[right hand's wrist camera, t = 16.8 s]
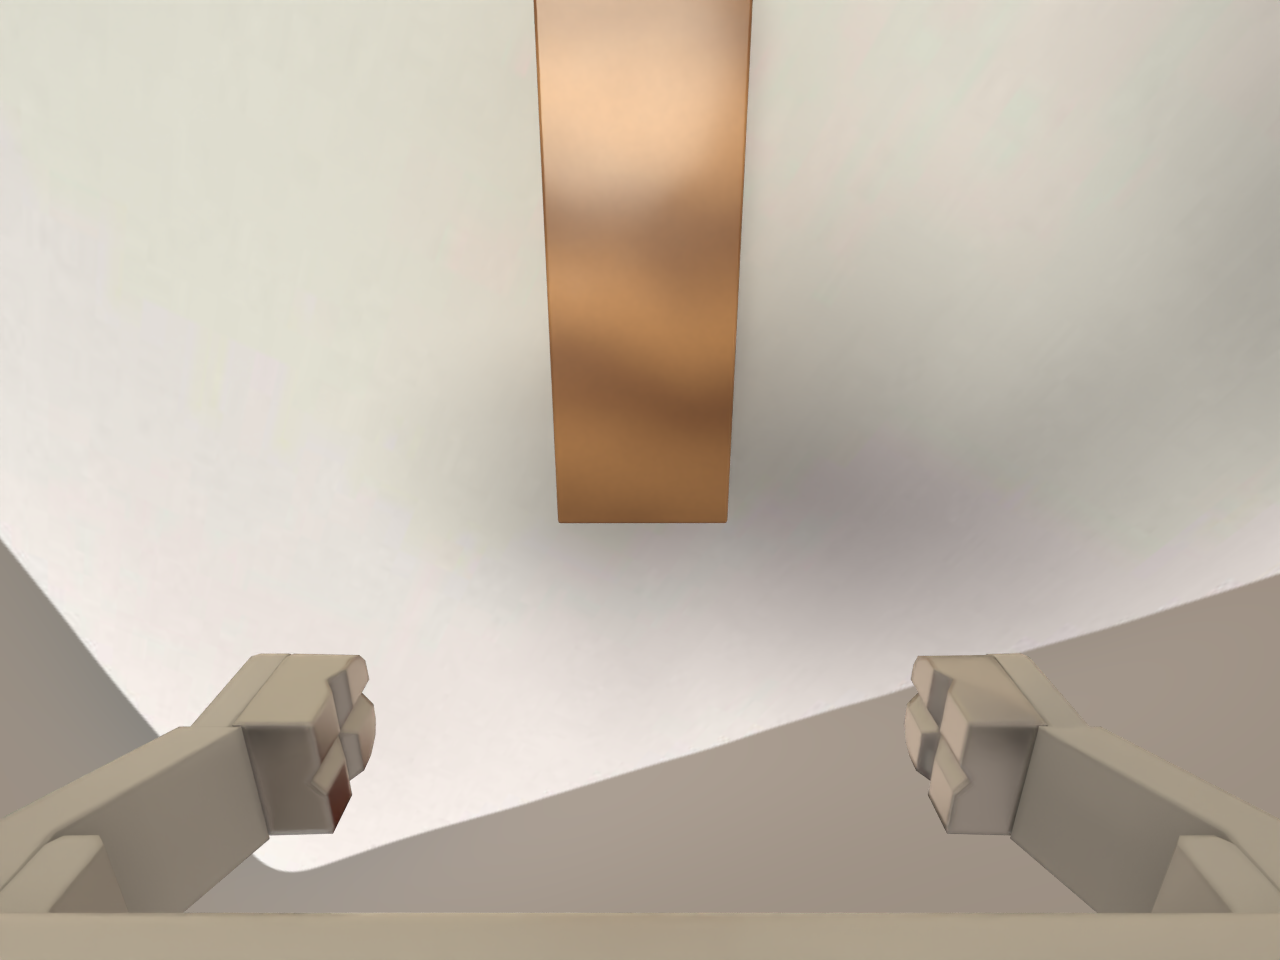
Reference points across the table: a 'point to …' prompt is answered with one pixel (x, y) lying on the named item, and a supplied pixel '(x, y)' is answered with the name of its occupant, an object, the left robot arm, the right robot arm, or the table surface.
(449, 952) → the right robot arm
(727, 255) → the box
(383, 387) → the table surface
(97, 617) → the table surface
